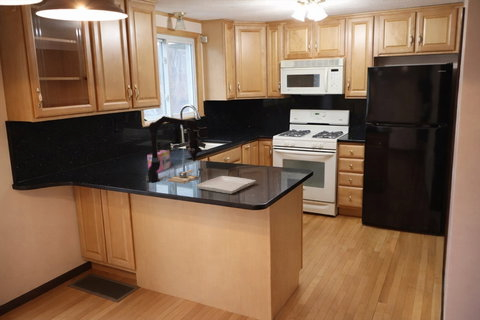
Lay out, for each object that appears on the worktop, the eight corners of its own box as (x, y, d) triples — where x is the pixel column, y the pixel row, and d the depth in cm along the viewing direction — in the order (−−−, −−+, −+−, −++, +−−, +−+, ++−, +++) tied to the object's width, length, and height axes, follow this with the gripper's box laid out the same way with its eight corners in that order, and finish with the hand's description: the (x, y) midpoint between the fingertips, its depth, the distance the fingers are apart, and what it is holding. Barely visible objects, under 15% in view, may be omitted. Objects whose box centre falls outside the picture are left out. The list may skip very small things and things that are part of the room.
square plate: (195, 190, 245) (195, 184, 244) (222, 180, 267) (221, 175, 266) (232, 196, 230) (231, 190, 229) (256, 185, 252) (256, 179, 251)
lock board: (184, 183, 262) (184, 180, 261) (168, 181, 269) (167, 178, 269) (198, 178, 274) (198, 175, 274) (182, 176, 282) (182, 174, 281)
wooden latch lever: (183, 178, 268) (183, 173, 267) (177, 177, 271) (177, 173, 270) (195, 174, 279) (195, 169, 278) (190, 173, 281) (189, 169, 281)
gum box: (162, 166, 319) (161, 149, 317) (171, 166, 317) (170, 149, 314) (148, 172, 297) (146, 154, 294) (157, 173, 295) (156, 155, 292)
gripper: (208, 138, 264) (209, 162, 267) (200, 135, 281) (201, 157, 284) (192, 140, 260) (193, 164, 263) (184, 137, 277) (186, 159, 280)
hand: (194, 161), depth 273 cm, fingers closed
